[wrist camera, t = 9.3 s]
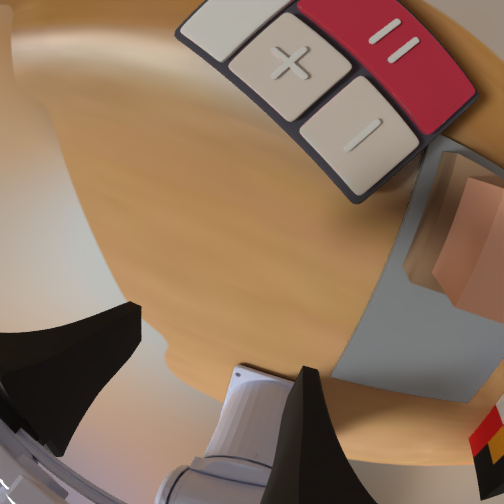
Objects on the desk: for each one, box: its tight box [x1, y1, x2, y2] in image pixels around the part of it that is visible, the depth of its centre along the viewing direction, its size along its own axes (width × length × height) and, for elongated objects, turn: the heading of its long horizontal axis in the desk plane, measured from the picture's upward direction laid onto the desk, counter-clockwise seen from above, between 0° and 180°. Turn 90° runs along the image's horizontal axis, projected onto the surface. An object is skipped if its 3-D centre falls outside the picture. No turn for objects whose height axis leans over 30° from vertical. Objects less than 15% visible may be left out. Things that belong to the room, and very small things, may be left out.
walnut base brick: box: [402, 152, 504, 295], centre depth 14 cm, size 8×6×2 cm
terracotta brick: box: [432, 177, 504, 324], centre depth 11 cm, size 6×4×4 cm, turn 167°
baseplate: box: [331, 135, 504, 403], centre depth 17 cm, size 20×16×1 cm
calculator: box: [174, 0, 479, 204], centre depth 13 cm, size 11×4×15 cm
